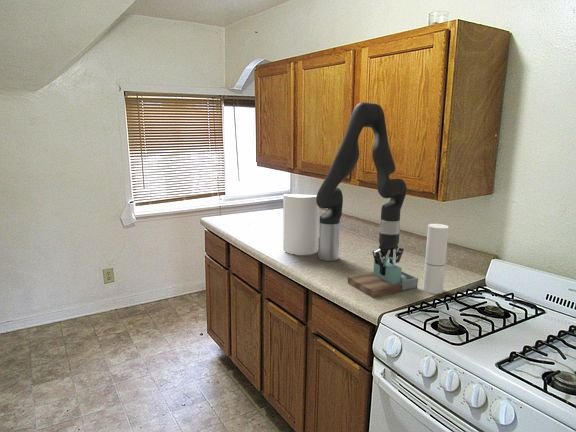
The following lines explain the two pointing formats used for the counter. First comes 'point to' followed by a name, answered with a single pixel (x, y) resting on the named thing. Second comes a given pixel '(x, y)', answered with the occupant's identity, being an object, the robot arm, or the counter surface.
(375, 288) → the board
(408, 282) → the tray
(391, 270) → the mint green rectangular block
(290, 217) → the cylinder
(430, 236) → the cylindrical container
